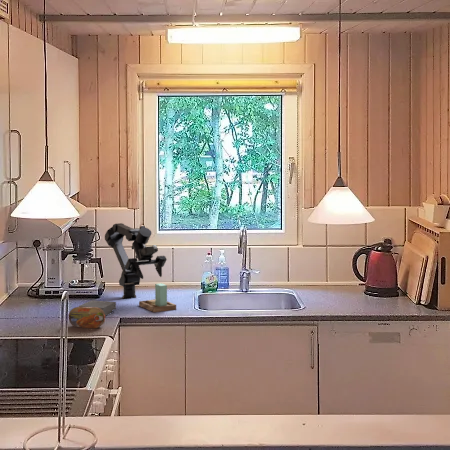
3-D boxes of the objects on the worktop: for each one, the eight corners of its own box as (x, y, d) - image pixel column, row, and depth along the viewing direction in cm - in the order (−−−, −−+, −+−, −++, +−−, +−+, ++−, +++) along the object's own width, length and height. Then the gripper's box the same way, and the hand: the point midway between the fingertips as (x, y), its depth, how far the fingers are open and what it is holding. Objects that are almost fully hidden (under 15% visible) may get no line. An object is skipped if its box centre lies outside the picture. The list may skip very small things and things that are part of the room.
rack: (139, 307, 333) (139, 301, 333) (160, 305, 339) (160, 298, 339) (154, 314, 321) (154, 307, 320) (176, 311, 327) (176, 304, 326)
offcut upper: (147, 303, 333) (147, 300, 333) (155, 302, 335) (155, 299, 335) (152, 304, 330) (152, 302, 330) (160, 303, 332) (160, 300, 332)
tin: (68, 327, 299) (68, 306, 298) (71, 325, 302) (70, 305, 301) (103, 329, 296) (103, 308, 295) (106, 327, 299) (106, 306, 298)
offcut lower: (148, 305, 333) (147, 303, 333) (155, 304, 335) (155, 302, 335) (152, 307, 330) (151, 304, 330) (159, 306, 332) (159, 303, 332)
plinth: (91, 308, 331) (91, 300, 330) (115, 310, 327) (115, 302, 327) (78, 314, 319) (78, 305, 319) (103, 317, 316) (103, 307, 315)
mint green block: (155, 308, 328) (155, 284, 327) (161, 307, 330) (161, 283, 329) (160, 310, 324) (160, 286, 323) (167, 309, 326) (166, 285, 324)
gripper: (127, 241, 330) (138, 268, 322) (164, 238, 340) (176, 264, 331) (120, 256, 337) (131, 283, 329) (157, 253, 347) (168, 279, 339)
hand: (152, 277), depth 332 cm, fingers open, 9 cm apart
